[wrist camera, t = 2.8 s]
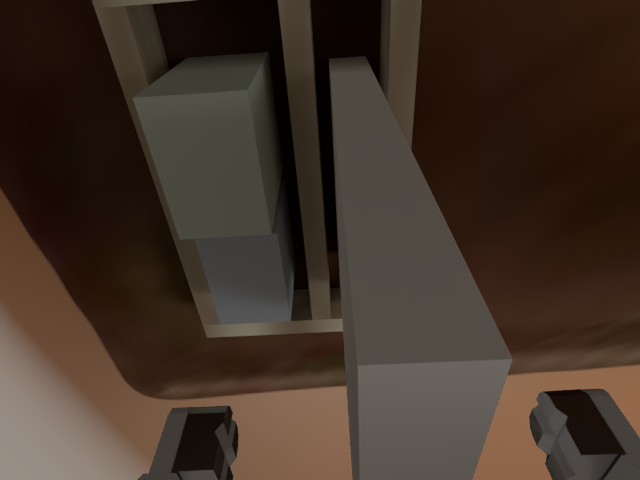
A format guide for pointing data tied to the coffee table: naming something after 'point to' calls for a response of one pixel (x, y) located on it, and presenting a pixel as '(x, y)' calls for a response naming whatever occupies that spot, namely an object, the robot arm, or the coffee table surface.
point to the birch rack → (297, 39)
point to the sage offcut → (215, 144)
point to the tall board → (405, 303)
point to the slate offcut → (252, 271)
